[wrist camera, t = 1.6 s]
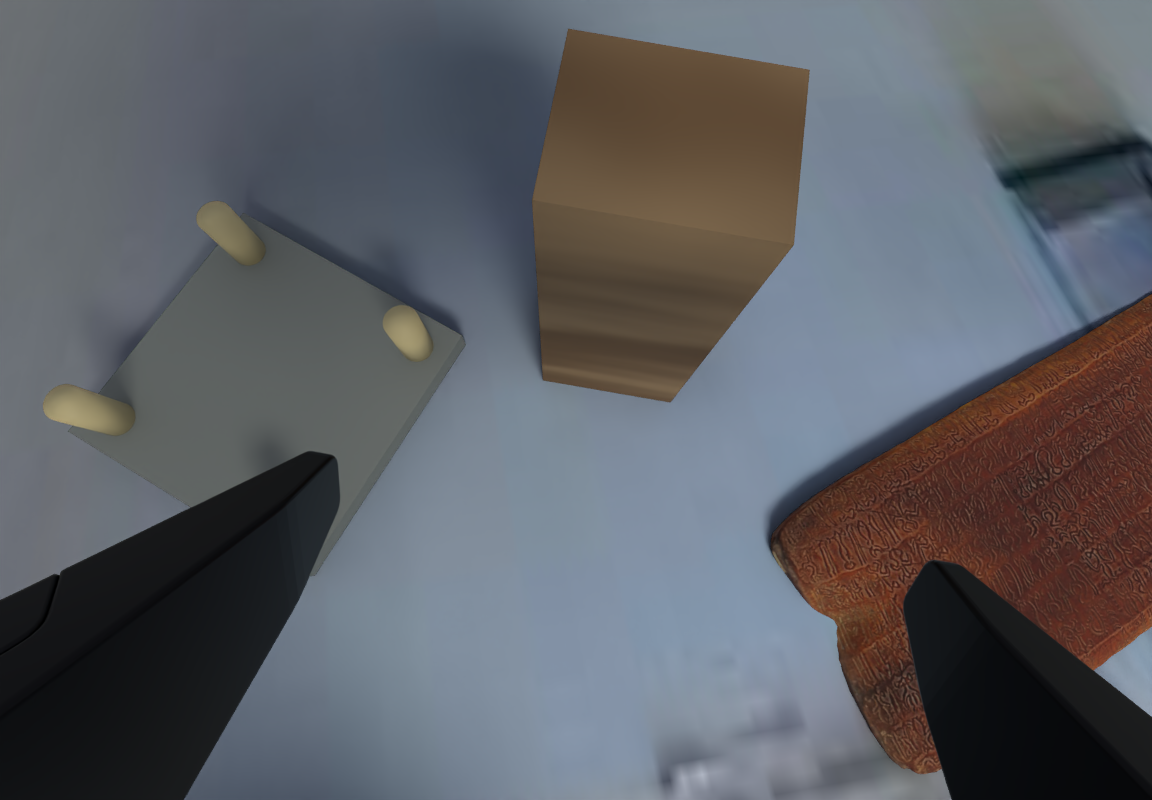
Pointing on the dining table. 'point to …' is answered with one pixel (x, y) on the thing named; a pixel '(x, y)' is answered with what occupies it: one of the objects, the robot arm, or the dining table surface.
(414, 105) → the dining table surface
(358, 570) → the dining table surface
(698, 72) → the walnut shelf block
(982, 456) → the wooden tablet
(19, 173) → the dining table surface
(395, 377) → the peg plate
